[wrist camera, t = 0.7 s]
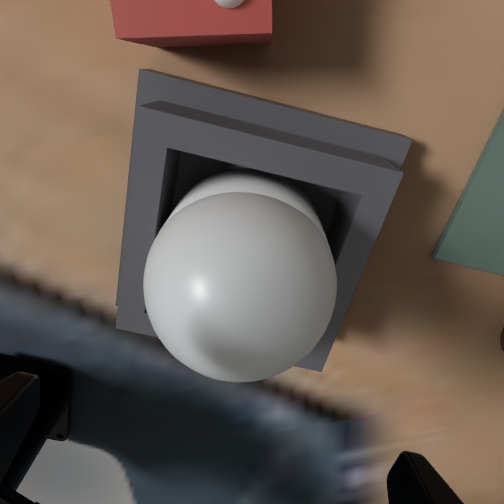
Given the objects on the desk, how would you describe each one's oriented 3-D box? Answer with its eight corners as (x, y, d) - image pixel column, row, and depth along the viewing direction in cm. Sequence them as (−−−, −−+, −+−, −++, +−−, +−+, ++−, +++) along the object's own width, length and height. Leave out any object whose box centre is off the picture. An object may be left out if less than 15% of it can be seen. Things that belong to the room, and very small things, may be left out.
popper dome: (298, 322, 19) (312, 446, 13) (159, 291, 19) (104, 404, 12) (344, 190, 16) (394, 266, 10) (181, 149, 16) (123, 202, 9)
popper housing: (322, 334, 23) (334, 391, 19) (125, 291, 22) (93, 340, 18) (401, 134, 18) (441, 152, 14) (149, 69, 17) (112, 67, 13)
